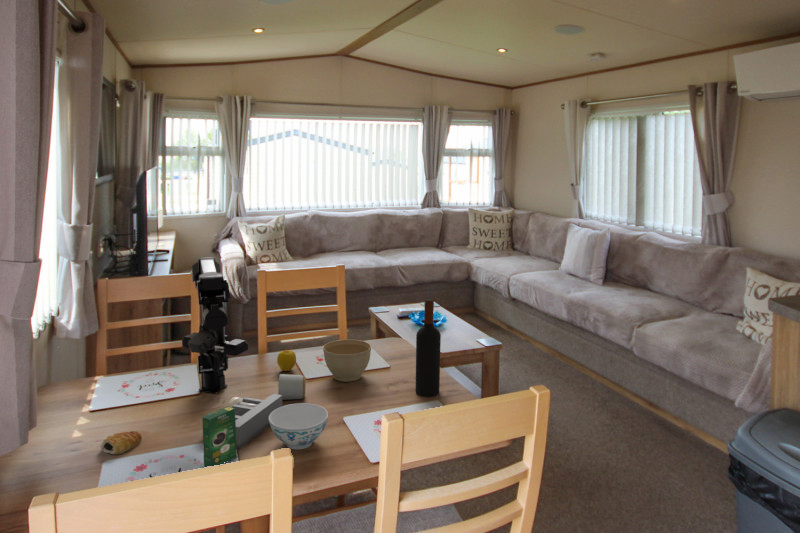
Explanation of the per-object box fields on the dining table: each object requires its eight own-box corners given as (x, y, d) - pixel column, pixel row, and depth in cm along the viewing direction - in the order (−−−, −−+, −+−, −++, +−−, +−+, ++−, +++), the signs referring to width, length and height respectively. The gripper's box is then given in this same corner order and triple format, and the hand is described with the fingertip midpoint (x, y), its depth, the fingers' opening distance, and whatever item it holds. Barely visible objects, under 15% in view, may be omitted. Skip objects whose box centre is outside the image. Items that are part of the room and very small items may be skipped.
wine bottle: (411, 394, 178) (413, 301, 173) (420, 386, 185) (421, 296, 180) (434, 398, 175) (436, 304, 170) (442, 389, 182) (444, 299, 177)
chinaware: (269, 432, 153) (268, 405, 151) (325, 427, 156) (325, 400, 155) (269, 461, 138) (268, 431, 137) (331, 454, 142) (331, 425, 140)
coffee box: (230, 453, 142) (227, 404, 139) (238, 457, 140) (235, 407, 138) (203, 468, 135) (200, 416, 132) (211, 471, 133) (208, 419, 131)
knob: (228, 418, 160) (227, 401, 159) (239, 410, 165) (238, 394, 164) (255, 423, 157) (255, 405, 156) (266, 415, 162) (265, 398, 161)
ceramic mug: (305, 402, 172) (305, 378, 171) (278, 404, 171) (277, 379, 169) (305, 389, 182) (305, 366, 181) (279, 390, 181) (279, 367, 180)
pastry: (130, 435, 151) (129, 422, 150) (148, 441, 148) (147, 428, 147) (98, 451, 142) (97, 437, 142) (117, 458, 139) (115, 444, 139)
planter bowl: (376, 370, 198) (376, 340, 196) (363, 388, 183) (363, 356, 181) (333, 366, 202) (332, 337, 200) (316, 383, 186) (315, 352, 184)
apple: (274, 373, 195) (274, 351, 193) (281, 366, 201) (281, 345, 199) (292, 374, 194) (292, 352, 192) (299, 368, 200) (298, 346, 198)
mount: (203, 441, 147) (202, 420, 146) (249, 409, 167) (248, 389, 166) (239, 449, 144) (238, 427, 143) (282, 414, 163) (282, 395, 162)
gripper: (165, 323, 155) (169, 377, 158) (222, 332, 148) (225, 388, 151) (194, 312, 165) (197, 363, 168) (248, 320, 158) (250, 373, 162)
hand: (216, 372), depth 162 cm, fingers closed
